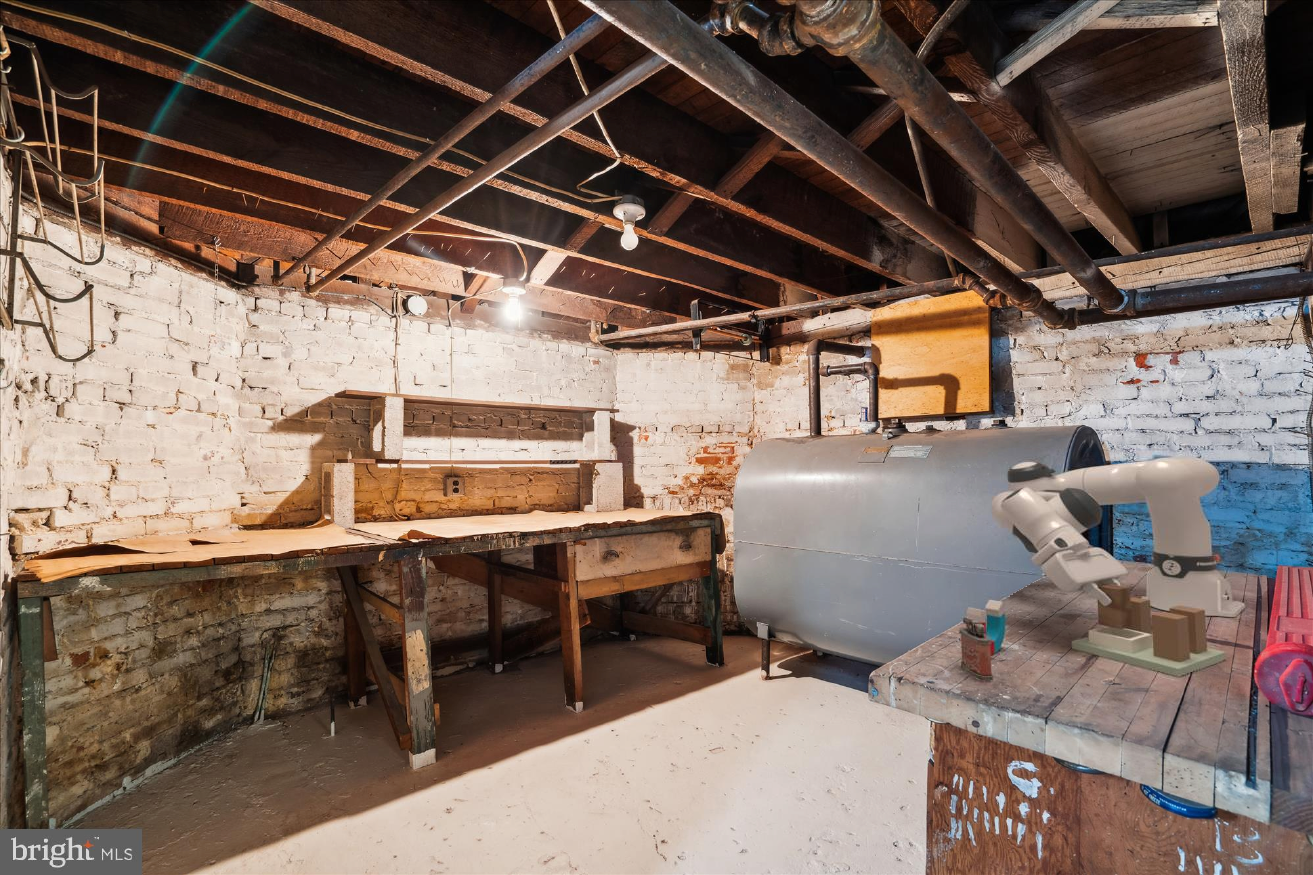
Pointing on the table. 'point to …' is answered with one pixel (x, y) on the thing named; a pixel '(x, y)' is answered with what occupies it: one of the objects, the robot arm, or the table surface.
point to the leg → (1115, 607)
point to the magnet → (991, 622)
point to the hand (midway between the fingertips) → (1117, 602)
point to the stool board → (1151, 659)
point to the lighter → (975, 650)
